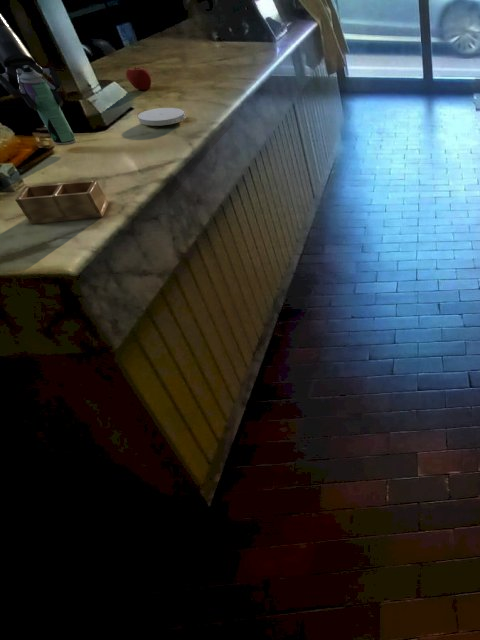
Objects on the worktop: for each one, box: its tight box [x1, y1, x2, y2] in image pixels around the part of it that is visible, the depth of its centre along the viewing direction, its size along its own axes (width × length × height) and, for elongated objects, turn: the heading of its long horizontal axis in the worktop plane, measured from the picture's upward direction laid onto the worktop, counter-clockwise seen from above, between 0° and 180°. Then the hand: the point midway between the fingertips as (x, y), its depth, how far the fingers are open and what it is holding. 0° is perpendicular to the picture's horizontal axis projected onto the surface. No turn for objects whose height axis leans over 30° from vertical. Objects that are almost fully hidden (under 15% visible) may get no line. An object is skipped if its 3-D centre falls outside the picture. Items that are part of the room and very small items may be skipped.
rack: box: [15, 180, 109, 225], centre depth 124 cm, size 15×8×6 cm, turn 109°
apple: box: [125, 66, 152, 91], centre depth 198 cm, size 8×8×8 cm
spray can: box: [19, 65, 78, 146], centre depth 146 cm, size 6×6×20 cm
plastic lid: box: [137, 107, 187, 127], centre depth 174 cm, size 14×14×2 cm
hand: (48, 106), depth 145 cm, fingers closed on spray can, 5 cm apart
